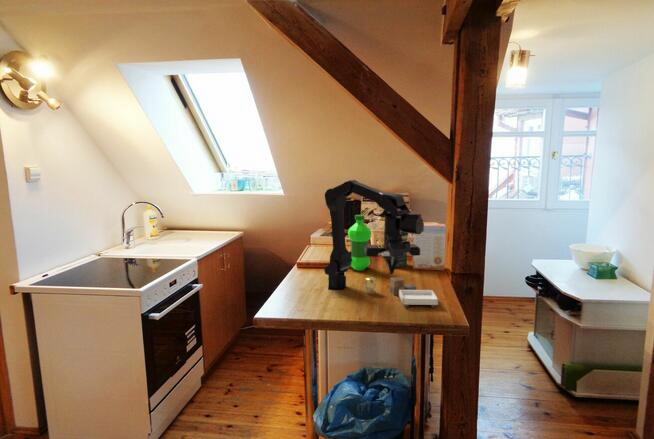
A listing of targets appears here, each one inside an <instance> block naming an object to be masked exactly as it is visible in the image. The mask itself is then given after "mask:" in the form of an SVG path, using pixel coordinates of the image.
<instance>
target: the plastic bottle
mask: <svg viewBox="0 0 654 439" xmlns="http://www.w3.org/2000/svg"><path fill="white" fill-rule="evenodd" d="M354 220H355V223H354V224H353V225H352V226H350V227H349V228H348V230H347V231H348V232H347V236H348V238H349V240H350V251H351V252H352V262H351V266H350V267H351V268H352V269H353V270H354V271H357V272H359V271H365V270H366V268H368V267H369V265H370V264H371V260H370V257H369V256H366V254H365V253H364V247H365V246H366V245H369V240H370V239H371V237H372V231H371V228H369V227H368V226H367V224H365V223H364V220H365V215H364V214H355V215H354Z"/></svg>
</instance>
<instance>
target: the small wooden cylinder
mask: <svg viewBox="0 0 654 439" xmlns="http://www.w3.org/2000/svg"><path fill="white" fill-rule="evenodd" d="M376 282H377V278H376V277H373V276H367V277H365V281H364V294H366V295H368V296H369V295H375V294H376V292H377V290H376V289H377V288H376V287H377V286H376V284H377V283H376Z"/></svg>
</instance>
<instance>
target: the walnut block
mask: <svg viewBox="0 0 654 439" xmlns="http://www.w3.org/2000/svg"><path fill="white" fill-rule="evenodd" d="M404 286H405V279H404V278H402V277H400V276H396V277H395V276H394V277H390V278H389V292H390V294H392V295H393V296H399V290H404Z"/></svg>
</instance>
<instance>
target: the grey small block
mask: <svg viewBox="0 0 654 439" xmlns="http://www.w3.org/2000/svg"><path fill="white" fill-rule="evenodd" d="M404 290H417V286H416V285H414V284H404Z"/></svg>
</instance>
